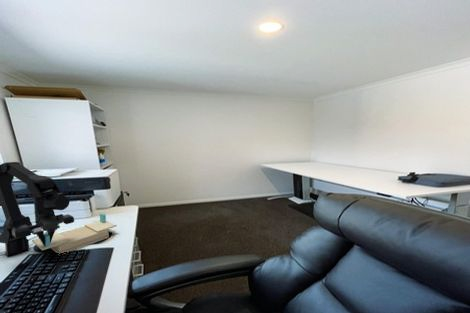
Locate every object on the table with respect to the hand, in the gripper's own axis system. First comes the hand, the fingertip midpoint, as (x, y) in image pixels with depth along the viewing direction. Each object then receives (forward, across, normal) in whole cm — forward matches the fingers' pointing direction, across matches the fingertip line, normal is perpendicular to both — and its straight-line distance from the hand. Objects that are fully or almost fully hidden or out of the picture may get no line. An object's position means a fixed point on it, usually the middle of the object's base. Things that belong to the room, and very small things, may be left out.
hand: (46, 244), depth 89 cm
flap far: (+1, +23, +5) cm, 24 cm away
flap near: (+1, +3, +5) cm, 6 cm away
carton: (+5, +13, +5) cm, 15 cm away
